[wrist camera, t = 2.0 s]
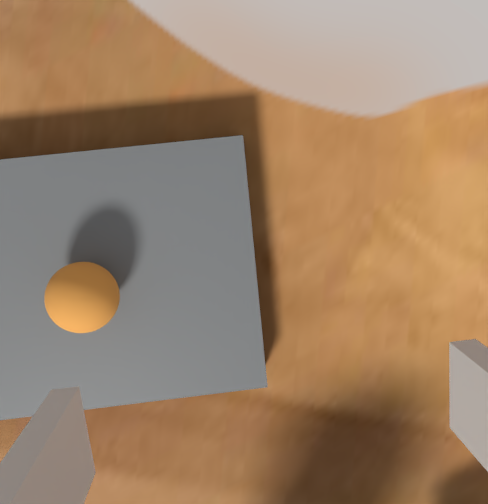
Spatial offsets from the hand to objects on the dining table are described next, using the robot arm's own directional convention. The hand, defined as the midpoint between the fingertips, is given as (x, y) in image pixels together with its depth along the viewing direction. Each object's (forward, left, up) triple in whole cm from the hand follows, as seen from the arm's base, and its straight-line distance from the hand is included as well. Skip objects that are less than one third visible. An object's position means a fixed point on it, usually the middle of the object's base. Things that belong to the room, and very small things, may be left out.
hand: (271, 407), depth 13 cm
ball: (-9, 0, -13) cm, 16 cm away
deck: (-13, 0, -18) cm, 22 cm away
